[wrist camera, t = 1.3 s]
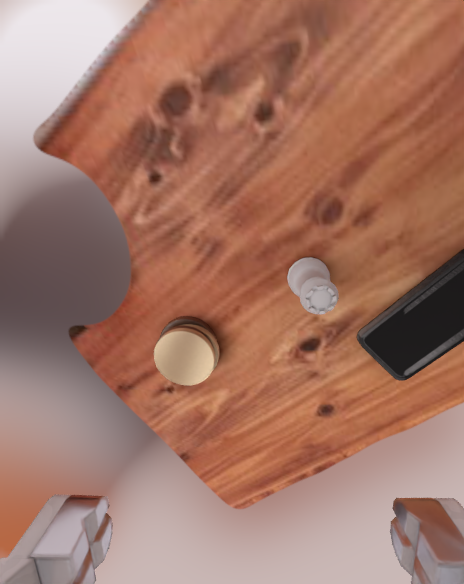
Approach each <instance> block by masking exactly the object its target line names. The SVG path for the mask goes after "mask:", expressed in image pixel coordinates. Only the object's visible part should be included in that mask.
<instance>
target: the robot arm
mask: <svg viewBox="0 0 464 584" xmlns="http://www.w3.org/2000/svg"><path fill="white" fill-rule="evenodd" d="M108 508H109V502H108V497H105V496H85V495H54V496H52V497H51V498H50V499H49V500H48V501H47V502H46V504H45V505H44V507H43V508H42V509H41V511H40V512H39V514H38V515H37V516H36V518H35V519H34V521H33V522H32V524H31V525H30V527H29V528H28V529H27V531H26V532H25V534H24V535H23V536H22V538H21V539H20V541H19V542H18V543H17V545H16V546H15V548H14V549H13V550H12V552H11V553H10V555H9V556H8V558H1V559H0V584H94V583H95V581H96V577H95V568H97V567H98V566H99V564H100V563H102V562H103V560H104V559H105V556H106V554H107V551H108V549H109V545H110V541H111V537H112V519H111V517H110V516H109V515H108V514H107V513H106V512H107V510H108ZM393 510H394V512H395V514H396V517H395V518H394V519H393V520H392V521H391V529H390V533H391V539H392V544H393V547H394V550H395V553H396V556H397V558H398V560H399V563H400V565H401V566H402V567H403V568H404V569H405V570H406V571H407V572H408V573H409V574H410V575H411V576H412V581H411V584H464V508H463V507H462V506H461V504H460V503H459V502H457V501H456V500H455V499H453V498H452V499H450V498H448V499H447V498H434V499H433V498H396V499H395V500H394V503H393Z"/></svg>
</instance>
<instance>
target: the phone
mask: <svg viewBox="0 0 464 584" xmlns="http://www.w3.org/2000/svg"><path fill="white" fill-rule="evenodd" d="M357 339H358V341H359V343H360V344H361V346H362V347H363V348H364V349H365V350H366V351H367V352H368V353H369V354H370V355H371V356H372V357H373V358H374V359H375V360H376V361H377V362H378V363H379V364H380V365H381V366H382V367H383V368H384V369H385V370H387V371H388V372H389V373H390V374H391V375H392V376H393V377H394V378H395V379H397V380H407V379H409V378H410V377H412V376H413V375H415V374H416V373H418V372H419V371H421V370H422V369H423V368H425V367H426V366H428V365H429V364H431V363H432V362H434V361H435V360H437V359H438V358H440V357H441V356H443V355H444V354H446V353H447V352H448V351H450V350H451V349H453V348H454V347H456V346H457V345H459V344H460V343H462V342H463V341H464V250H462V251H461V252H459V253H458V254H457V255H456V256H454V257H453V258H452V259H450V260H449V261H448V262H447V263H445V264H444V265H443V266H442V267H440V268H439V269H438V270H436V271H435V272H434V273H433V274H431V275H430V276H429V277H427V278H426V279H425V280H424V281H422V282H421V283H420V284H419V285H417V286H416V287H415V288H413V289H412V290H411V291H410V292H408V293H407V294H406V295H404V296H403V297H402V298H401V299H399V300H398V301H397V302H396V303H394V304H393V305H392V306H390V307H389V308H388V309H387V310H385V311H384V312H383V313H381V314H380V315H379V316H378V317H376V318H375V319H374V320H373V321H371V322H370V323H369V324H367V325H366V326H365V327H364V328H362V329H361V330H360V331H359V332H358V334H357Z"/></svg>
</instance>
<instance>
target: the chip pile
mask: <svg viewBox="0 0 464 584" xmlns="http://www.w3.org/2000/svg"><path fill="white" fill-rule="evenodd" d="M219 353H220V352H219V345H218V343H217V341H216V337H215V334H214V332H213V331H212V329H211V328H210V327H209V326H208V325H207V324H206V323H205V322H203V321H202V320H200V319H197V318H194V317H179V318H176V319H174V320H172V321H171V322H169V323H168V324H167V325H166V327H165V328H164V329H163V331H162V333H161V336H160V338H159V340H158V341H157V343H156V346H155V350H154V361H155V364H156V366H157V368H158V370H159V371H160V373H161V374H162V375H163V376H164V377H165V378H167V379H168V380H170V381H172V382H174V383H176V384H180V385H195V384H198V383H201V382H203V381H204V380H205V379H207V378H208V377H209V375H210V374H211V372H212V371H213V370H214V369H215V367H216V365H217V363H218V359H219Z"/></svg>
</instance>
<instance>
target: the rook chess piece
mask: <svg viewBox="0 0 464 584" xmlns="http://www.w3.org/2000/svg"><path fill="white" fill-rule="evenodd" d="M287 278H288V284H289V286H290V288H291V290H292V291H293V293H295V294H296V295H297V296H299V297H300V301H301V304H302V306H303V307H304V309H306V310H307V311H308V312H310V313H314V314H325V313H326V312H328V311H331V310H332V309H333V308H334V306H335V305H336V303H337V301H338V290H337V288H336V286H335V285H334V284H333V283H331V282H330V273H329V271H328V269H327V267H326V265H325V264H324V263H323V262H322V261H320V260H319V259H316V258H312V257H309V258H302V259H300V260H298V261H297V262H295V263H294V264H293V265H292V267H291V268H290V269H289V273H288V276H287Z"/></svg>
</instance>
